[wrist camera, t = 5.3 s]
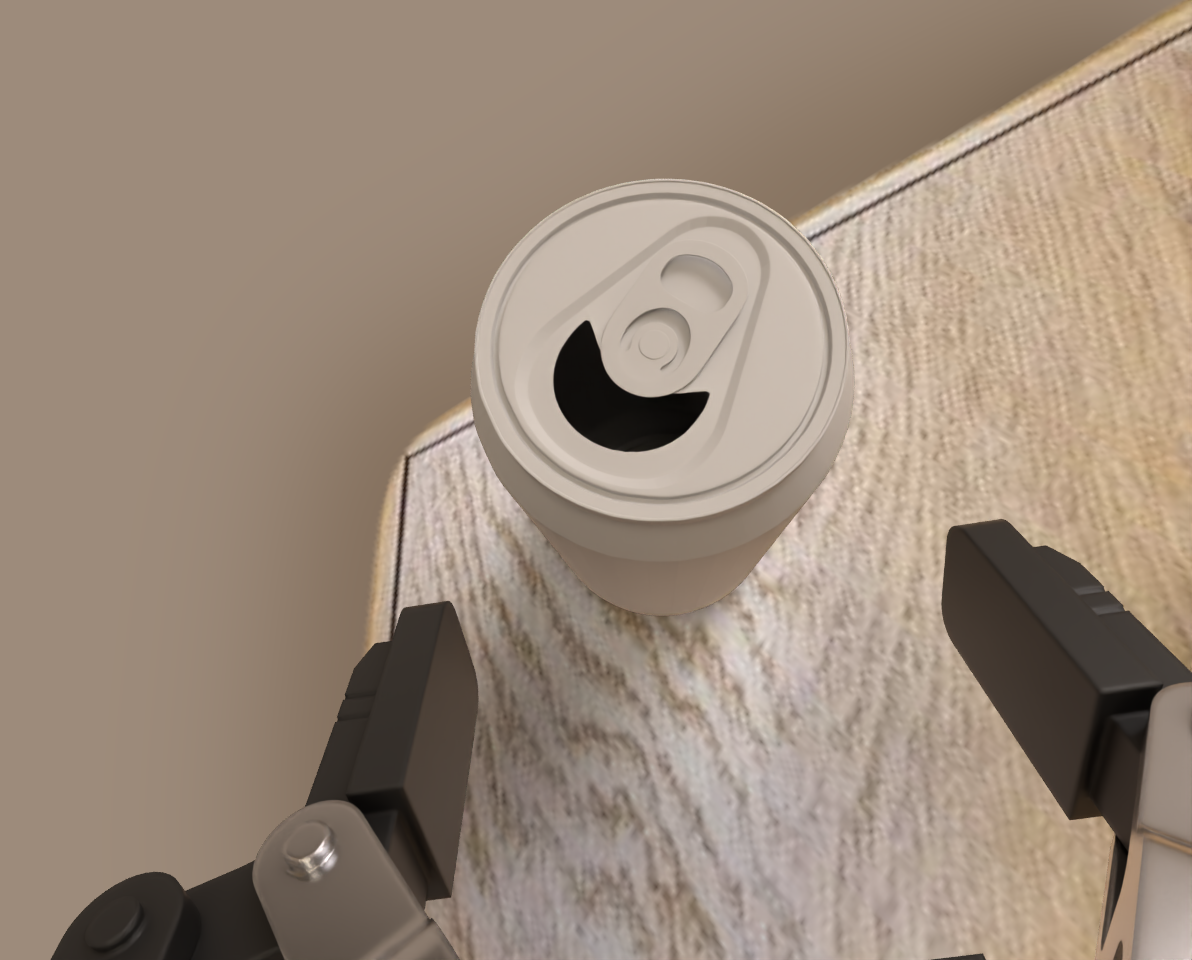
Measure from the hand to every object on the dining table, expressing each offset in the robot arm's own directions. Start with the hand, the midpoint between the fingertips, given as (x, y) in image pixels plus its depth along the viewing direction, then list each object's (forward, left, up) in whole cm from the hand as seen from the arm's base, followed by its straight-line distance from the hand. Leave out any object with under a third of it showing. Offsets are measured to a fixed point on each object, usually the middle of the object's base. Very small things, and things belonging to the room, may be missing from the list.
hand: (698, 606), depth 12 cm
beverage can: (+2, +3, -10) cm, 11 cm away
